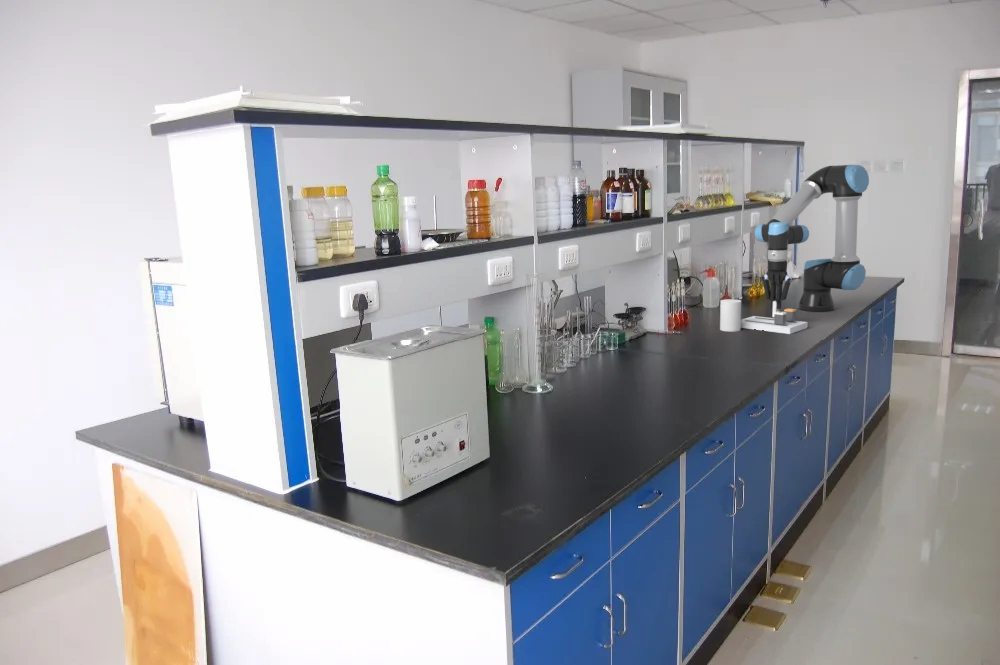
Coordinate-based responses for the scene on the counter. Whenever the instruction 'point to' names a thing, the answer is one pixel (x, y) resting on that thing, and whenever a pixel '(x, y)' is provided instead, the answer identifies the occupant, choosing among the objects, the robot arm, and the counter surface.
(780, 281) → the robot arm
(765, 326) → the panel
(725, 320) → the cup
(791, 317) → the fader orange
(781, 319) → the fader cream
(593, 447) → the counter surface
